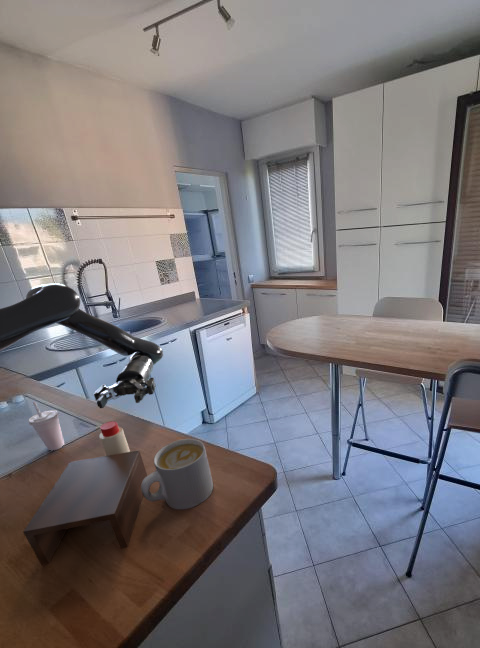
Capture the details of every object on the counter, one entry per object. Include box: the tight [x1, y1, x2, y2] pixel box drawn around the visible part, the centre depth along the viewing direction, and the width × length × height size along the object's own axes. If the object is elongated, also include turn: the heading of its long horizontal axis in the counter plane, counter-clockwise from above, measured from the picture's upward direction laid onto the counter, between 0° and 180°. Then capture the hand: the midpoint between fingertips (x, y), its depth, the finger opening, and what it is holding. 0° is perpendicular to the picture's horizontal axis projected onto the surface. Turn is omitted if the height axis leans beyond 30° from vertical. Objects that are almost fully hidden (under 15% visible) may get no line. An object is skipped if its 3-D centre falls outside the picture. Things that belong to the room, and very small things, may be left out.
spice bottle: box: [99, 420, 131, 456], centre depth 78 cm, size 5×5×12 cm
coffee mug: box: [141, 438, 214, 510], centre depth 69 cm, size 13×10×10 cm
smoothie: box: [28, 401, 65, 452], centre depth 88 cm, size 6×6×14 cm
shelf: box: [22, 450, 148, 566], centre depth 65 cm, size 14×18×8 cm
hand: (118, 402), depth 83 cm, fingers open, 8 cm apart
